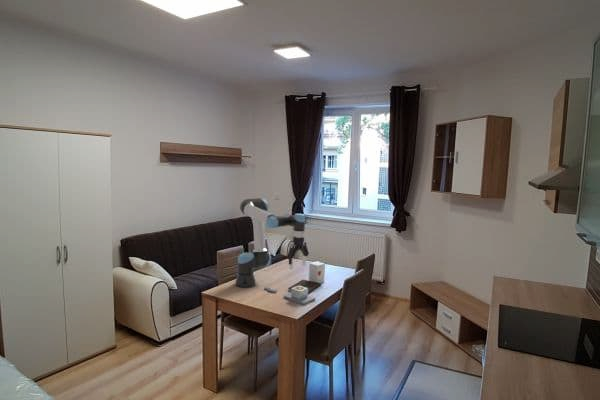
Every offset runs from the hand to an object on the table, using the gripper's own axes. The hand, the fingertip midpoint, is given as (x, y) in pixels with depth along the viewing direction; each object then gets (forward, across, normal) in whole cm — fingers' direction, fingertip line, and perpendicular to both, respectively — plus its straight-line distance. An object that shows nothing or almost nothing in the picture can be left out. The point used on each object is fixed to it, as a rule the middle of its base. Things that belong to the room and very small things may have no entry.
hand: (297, 266), depth 234 cm
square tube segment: (+20, -1, -4) cm, 20 cm away
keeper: (+21, -1, -4) cm, 22 cm away
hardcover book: (+22, +18, +7) cm, 29 cm away
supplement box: (+22, +35, +10) cm, 42 cm away
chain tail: (+22, -5, +21) cm, 31 cm away
